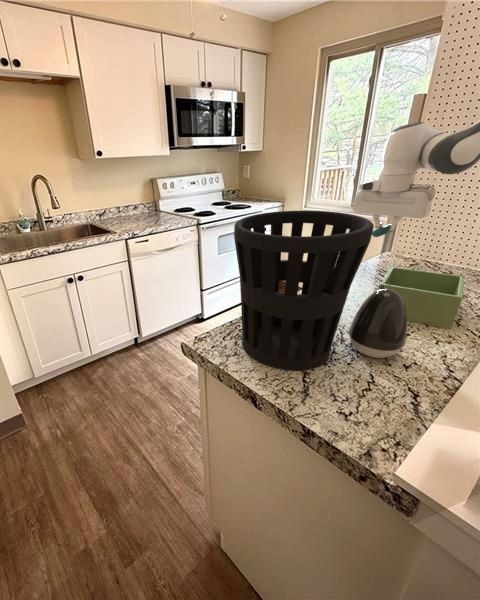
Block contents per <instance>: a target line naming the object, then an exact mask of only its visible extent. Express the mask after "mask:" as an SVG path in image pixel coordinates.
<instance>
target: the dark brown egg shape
mask: <svg viewBox="0 0 480 600" xmlns="http://www.w3.org/2000/svg"><path fill="white" fill-rule="evenodd" d="M380 284H381V283H380ZM380 284H379V285H378V286H377V287H378V289H376V290H375V291H374V292H372V293H371V294H370V295H368V297H367V298H366V299H365V300H364V301H363V302H362V304H361V305H360V307H359V308H358V310H357V311H356V313H355V315H354V317H353V318H352V321H351V323H350V325H349V328H348V336H349V340H350V343H351V345H352V346H353V348H354V349H355V350H356V351H358V352H359V353H361V354H362V355H365V356H367V357H370V358H377V359H385V358H389V357H392V356H394V355H396V354H397V353H399V351H400V350H401V349H402V348H404V347H405V345H406V343H407V335H408V320H407V314H406V308H405V304H404V302H403V299H402V298H401V296H400V295H399V294H398V293H397V292H395V291H393V290H390V289H385V286H384V285H382V284H381V285H380Z"/></svg>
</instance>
